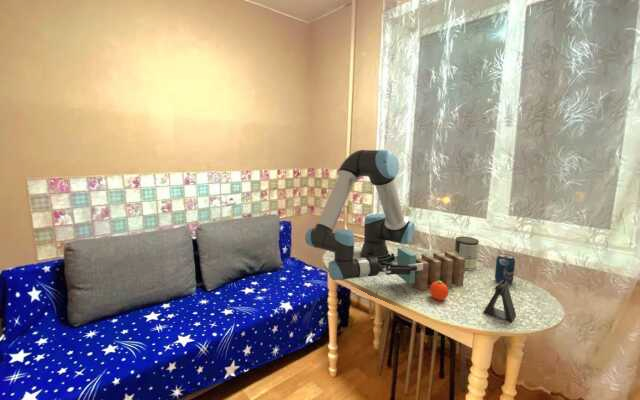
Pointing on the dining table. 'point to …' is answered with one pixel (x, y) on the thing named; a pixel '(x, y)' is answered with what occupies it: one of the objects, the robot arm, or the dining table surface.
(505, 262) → the soda can
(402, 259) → the teal domino
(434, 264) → the walnut domino
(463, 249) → the coffee can
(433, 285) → the clementine
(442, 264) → the walnut domino
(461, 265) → the walnut domino
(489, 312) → the phone stand
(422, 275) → the walnut domino
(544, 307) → the dining table surface
